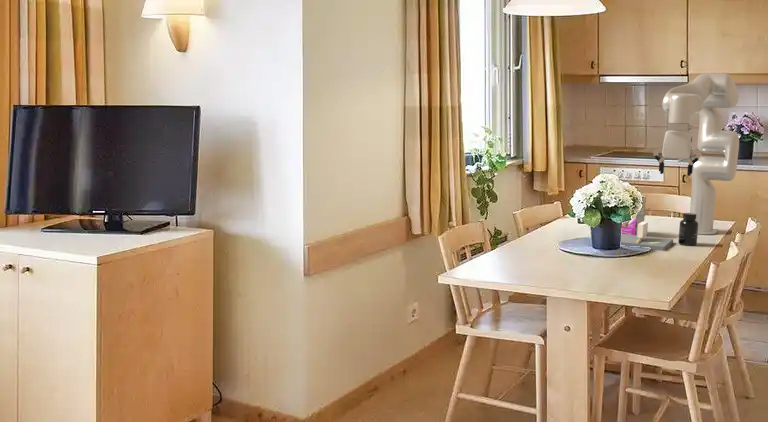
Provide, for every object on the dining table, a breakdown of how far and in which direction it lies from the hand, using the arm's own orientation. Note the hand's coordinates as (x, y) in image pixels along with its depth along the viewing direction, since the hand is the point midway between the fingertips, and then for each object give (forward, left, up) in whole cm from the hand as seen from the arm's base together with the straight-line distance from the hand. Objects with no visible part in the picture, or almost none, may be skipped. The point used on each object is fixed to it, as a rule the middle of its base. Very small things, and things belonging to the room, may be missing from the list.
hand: (675, 174), depth 330 cm
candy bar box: (-21, -20, -28) cm, 41 cm away
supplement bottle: (-14, +4, -28) cm, 32 cm away
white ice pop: (-2, -11, -26) cm, 29 cm away
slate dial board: (-4, -11, -28) cm, 31 cm away
